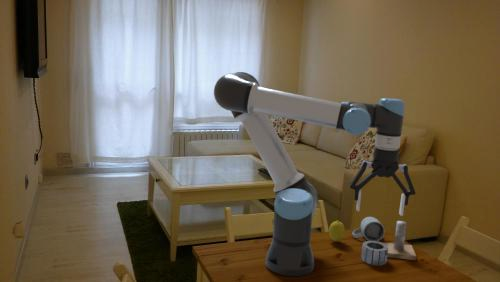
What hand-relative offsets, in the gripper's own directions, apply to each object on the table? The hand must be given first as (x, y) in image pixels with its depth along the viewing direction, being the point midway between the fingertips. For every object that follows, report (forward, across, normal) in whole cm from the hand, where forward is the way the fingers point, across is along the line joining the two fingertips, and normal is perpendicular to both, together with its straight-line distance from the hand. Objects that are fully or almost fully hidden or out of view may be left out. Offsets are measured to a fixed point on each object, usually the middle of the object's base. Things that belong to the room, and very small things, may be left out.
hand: (379, 212), depth 149 cm
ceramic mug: (+17, 0, +19) cm, 25 cm away
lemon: (+17, -12, +12) cm, 24 cm away
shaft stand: (+16, +9, +8) cm, 20 cm away
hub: (+16, 0, 0) cm, 17 cm away
